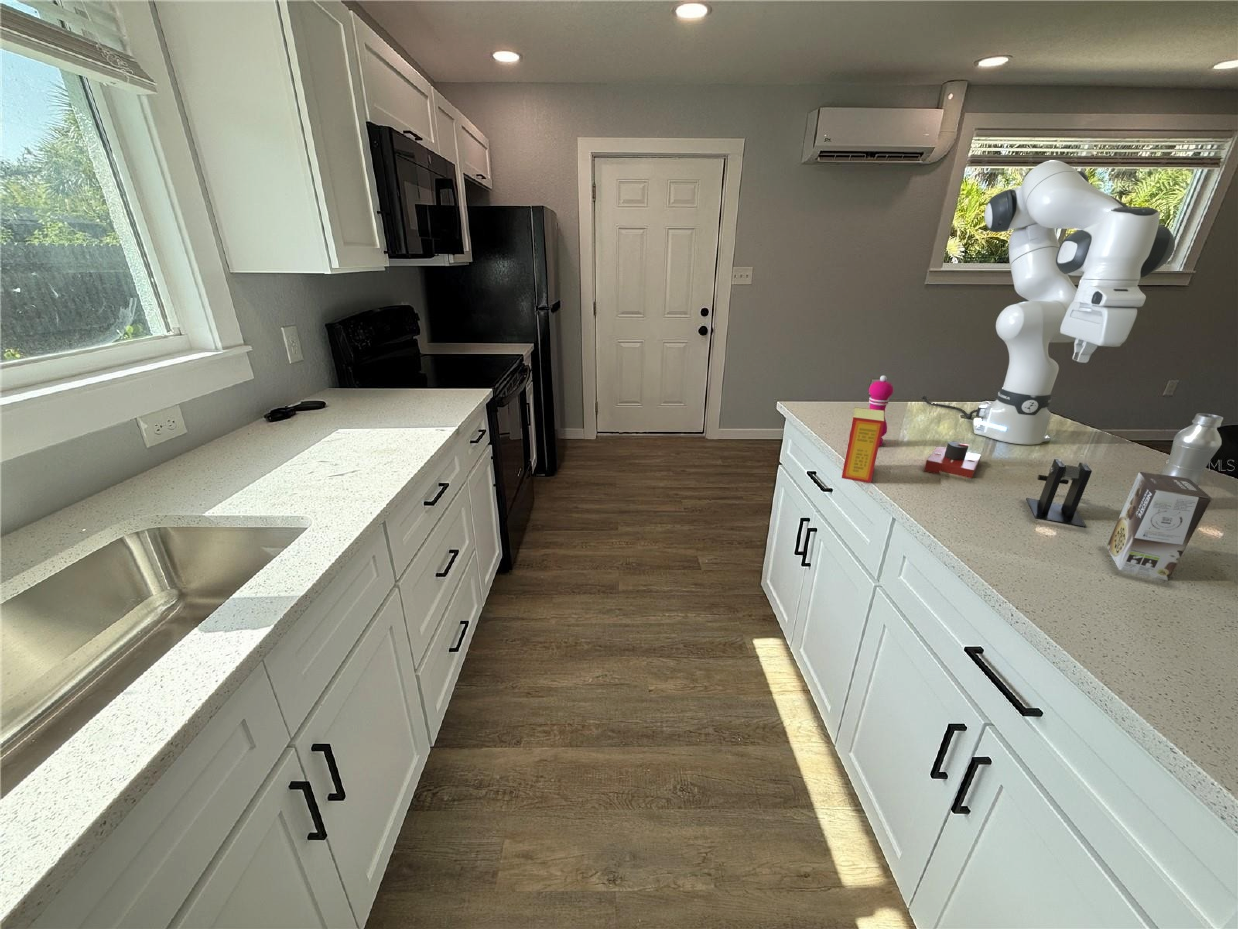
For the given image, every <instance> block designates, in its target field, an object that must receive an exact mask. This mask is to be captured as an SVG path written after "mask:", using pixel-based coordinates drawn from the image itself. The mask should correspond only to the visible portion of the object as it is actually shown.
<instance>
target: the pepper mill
mask: <svg viewBox="0 0 1238 929" xmlns="http://www.w3.org/2000/svg"><path fill="white" fill-rule="evenodd" d="M887 380H888V377H887V376H886V375H884V374H883V375H881V376H880V378H879V380H876V381H874V382H873V383H872V384H870V386H869V388H868V393H869V395H870V396H869V398H868V399H869V400H868V403H869V408H868V409H874V410H884V424H883V429H882V434H881V438H880V443H879V447H881V446H883V442H884V438H883V437H884V436H885V435H886V434H887V433H888V423H887V419H886V416H885V415H886V414H885V413H886V407H887V406H888V405H889V401H890V399H889V398H890V397H892V395H894V394H893V393H894V386H893V384H892V383H890V382H889V381H887Z"/></svg>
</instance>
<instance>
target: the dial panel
mask: <svg viewBox="0 0 1238 929" xmlns="http://www.w3.org/2000/svg"><path fill="white" fill-rule="evenodd" d="M946 448H947V447H945V446H940V445H939V446H938V445H937V446H936V447H935V448H934V449H933V451H932V452H931V453H930V455H929V456H928V458H927V459H926V462H925V465H924V470H923V471H924V472H927V473H932V474H935V475H936V474H937V475H941V474H940V472H942V473H946V474H952V475H955V476H956V475H957V476H960V477H964V478H970V479H972V478H973V476H974V474H975V472H976V470H977V467H978V466H979V464H980V462H981V458H982V454H979V453H974V452H969V451H967V453H966V457H965V459H964V460H952V459H949V458H947V457H945V456H944V455H945V451H946Z"/></svg>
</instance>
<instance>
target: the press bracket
mask: <svg viewBox="0 0 1238 929" xmlns="http://www.w3.org/2000/svg"><path fill="white" fill-rule="evenodd" d="M1077 467H1080V472H1079V478H1078V479H1076V480H1073V481H1072V480H1071V483H1070V486H1069V488H1068V490H1067V492H1066V493H1067V494H1066V496H1065V498H1064V500H1063V503H1059V502H1053V501H1054V499H1055V496H1056V494H1057V492H1058V488H1059V486H1060V484H1061V483H1060V481H1061V478H1062V476H1063V473H1064V470H1065V468H1066V467H1065V463H1063V461H1062V460H1061V459H1058V458H1054V459H1053V461H1052V465H1051V467H1050V468H1049V473H1048V475H1047V476H1048V478H1047V480H1046V481H1045V483H1044V486H1043V488H1042V491H1041V494H1040V497H1039V499H1035V498H1029V497H1026V498H1025V500H1026V502H1027V505H1028V507H1029V509H1030V511H1031V513H1032V516H1033V517H1034V519H1035V520H1041V521H1045V522H1051V523H1057V524H1063V525H1066V526H1067V525H1068V526H1072V527H1078V528H1084V529H1087V526H1086V524H1085V522H1084V521H1083V519H1082V518H1081V516H1080V515H1079V513H1078V511H1077V509H1078V507H1079V504H1080V502H1081V500H1082V498H1083V495H1084V492H1085V489H1086V487H1087V485H1088V482H1089V479H1090V478H1091V474H1092V472H1093V470H1092V469H1091V468H1090V467H1089V465H1088V464H1087V463H1086V462H1079V463H1078V465H1077Z"/></svg>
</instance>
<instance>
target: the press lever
mask: <svg viewBox="0 0 1238 929" xmlns="http://www.w3.org/2000/svg"><path fill="white" fill-rule="evenodd" d="M1064 465H1065V464H1064ZM1065 467H1066V468H1065V470H1064V473H1063V476H1062V478H1061V481H1060V483H1059V484H1061V485H1068V484H1069V481H1071V482H1072V481H1073V480H1076V479H1078V478H1079V472H1080V467H1078V465H1077V466H1076V465H1069V464H1066V465H1065ZM1036 478H1037V481H1041V482H1042V481H1043V482H1046V480H1047V478H1048V475H1044V474H1038V475H1037V477H1036Z"/></svg>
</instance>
